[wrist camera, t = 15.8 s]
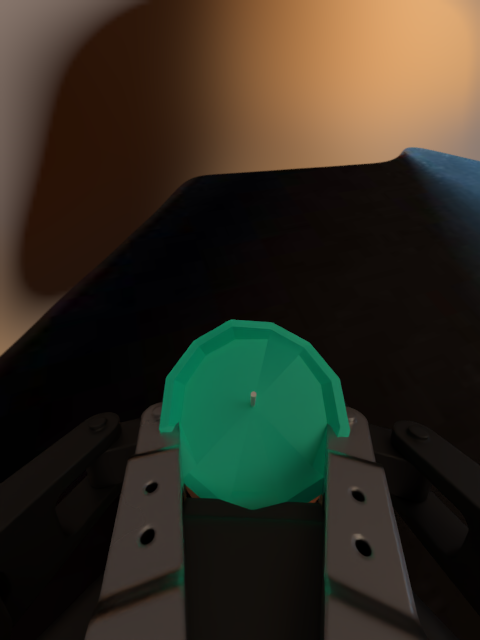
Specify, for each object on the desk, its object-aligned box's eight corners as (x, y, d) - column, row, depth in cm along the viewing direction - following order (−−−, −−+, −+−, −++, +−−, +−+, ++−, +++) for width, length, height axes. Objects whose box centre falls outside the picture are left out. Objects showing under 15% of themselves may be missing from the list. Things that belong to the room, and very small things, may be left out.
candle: (203, 392, 18) (132, 322, 7) (277, 372, 18) (316, 278, 7) (219, 483, 15) (142, 601, 4) (305, 457, 15) (433, 501, 5)
